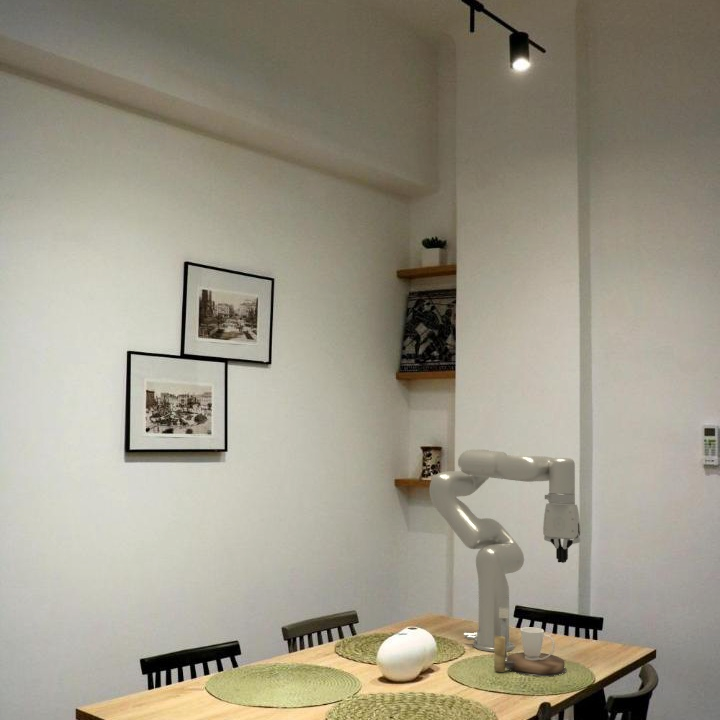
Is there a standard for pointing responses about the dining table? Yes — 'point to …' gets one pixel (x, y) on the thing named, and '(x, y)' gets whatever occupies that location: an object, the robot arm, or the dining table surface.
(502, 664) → the turntable
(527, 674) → the turntable base
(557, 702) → the dining table surface
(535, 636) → the cup
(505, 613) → the gauge post
